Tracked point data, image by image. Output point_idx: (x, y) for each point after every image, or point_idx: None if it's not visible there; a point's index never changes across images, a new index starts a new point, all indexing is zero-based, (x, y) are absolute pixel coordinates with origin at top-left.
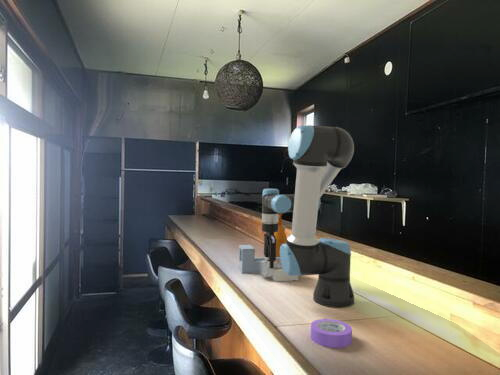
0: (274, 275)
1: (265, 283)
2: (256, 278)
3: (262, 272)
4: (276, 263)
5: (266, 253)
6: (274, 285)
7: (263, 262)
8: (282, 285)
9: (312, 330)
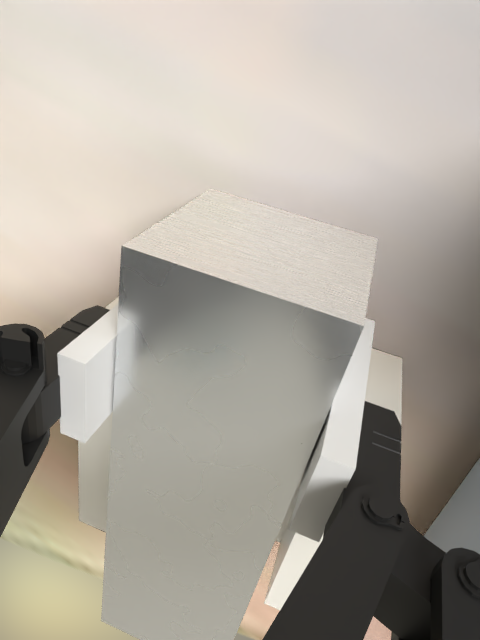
0: (118, 300)
1: (102, 148)
2: (325, 139)
3: (194, 203)
4: (115, 438)
5: (314, 560)
6: (31, 203)
7: (185, 302)
8: (28, 269)
9: None
